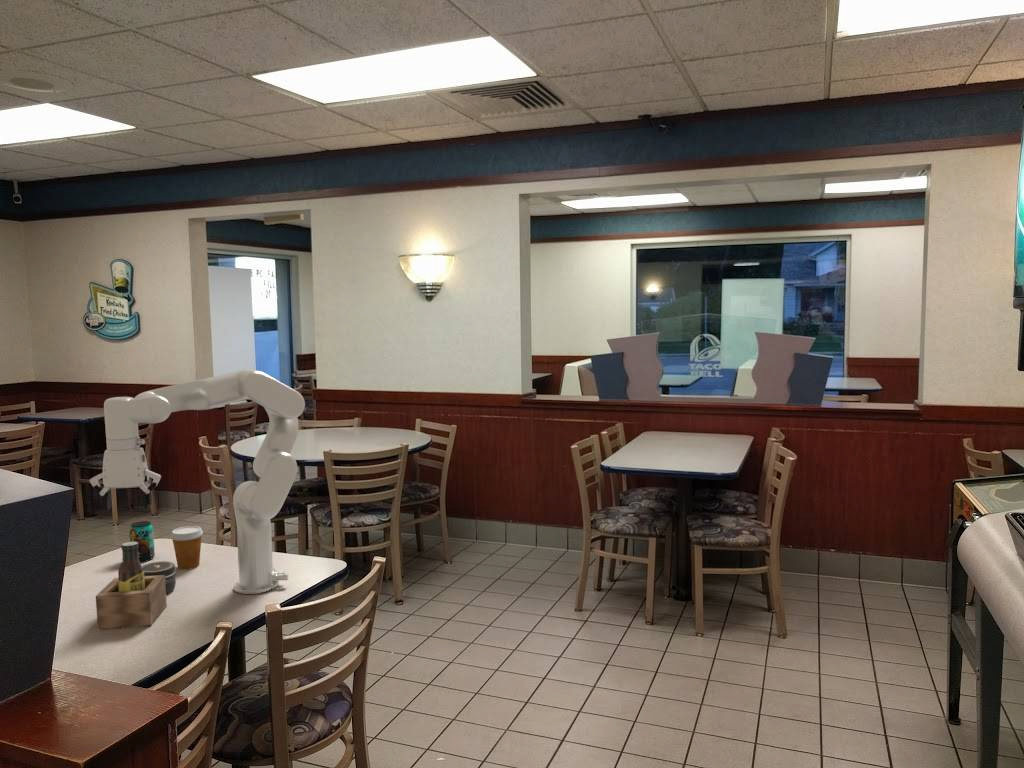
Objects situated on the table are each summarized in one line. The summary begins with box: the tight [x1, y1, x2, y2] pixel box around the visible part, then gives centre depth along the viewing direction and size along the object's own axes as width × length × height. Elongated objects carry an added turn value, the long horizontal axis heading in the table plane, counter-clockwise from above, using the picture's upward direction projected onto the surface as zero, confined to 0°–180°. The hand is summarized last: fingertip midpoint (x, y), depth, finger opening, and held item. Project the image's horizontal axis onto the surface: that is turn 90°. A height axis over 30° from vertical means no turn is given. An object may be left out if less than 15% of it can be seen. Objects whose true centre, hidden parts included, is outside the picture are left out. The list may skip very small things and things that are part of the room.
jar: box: [141, 560, 177, 595], centre depth 216 cm, size 10×10×8 cm
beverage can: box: [128, 520, 156, 562], centre depth 245 cm, size 7×7×12 cm
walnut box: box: [95, 575, 168, 630], centre depth 198 cm, size 13×13×9 cm
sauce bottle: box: [117, 541, 145, 592], centre depth 198 cm, size 6×6×20 cm
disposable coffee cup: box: [170, 525, 204, 570], centre depth 237 cm, size 10×10×12 cm
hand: (127, 508), depth 196 cm, fingers open, 9 cm apart
